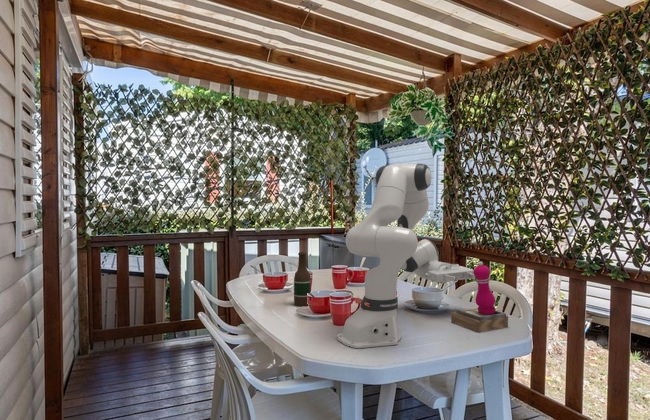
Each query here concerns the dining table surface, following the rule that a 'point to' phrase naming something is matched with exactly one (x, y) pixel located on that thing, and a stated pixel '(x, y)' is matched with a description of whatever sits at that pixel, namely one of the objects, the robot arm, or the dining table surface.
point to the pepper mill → (484, 290)
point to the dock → (479, 320)
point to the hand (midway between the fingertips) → (464, 278)
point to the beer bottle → (301, 282)
